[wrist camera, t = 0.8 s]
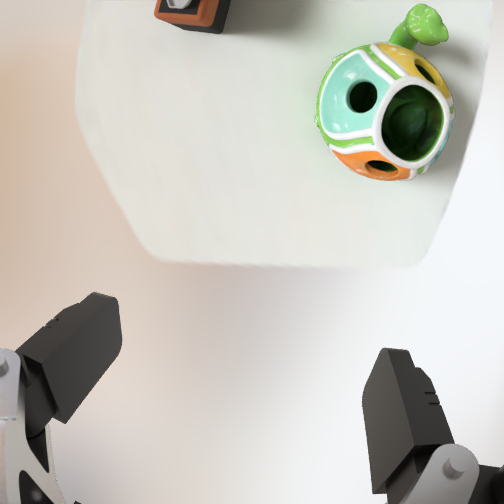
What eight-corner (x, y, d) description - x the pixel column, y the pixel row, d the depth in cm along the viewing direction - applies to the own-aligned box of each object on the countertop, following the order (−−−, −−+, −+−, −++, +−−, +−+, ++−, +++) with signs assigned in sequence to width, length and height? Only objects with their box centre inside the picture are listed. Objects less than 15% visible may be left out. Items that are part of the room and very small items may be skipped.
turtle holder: (449, 48, 24) (513, 48, 14) (392, 180, 34) (435, 228, 23) (352, -6, 23) (387, -40, 13) (294, 139, 32) (303, 170, 22)
